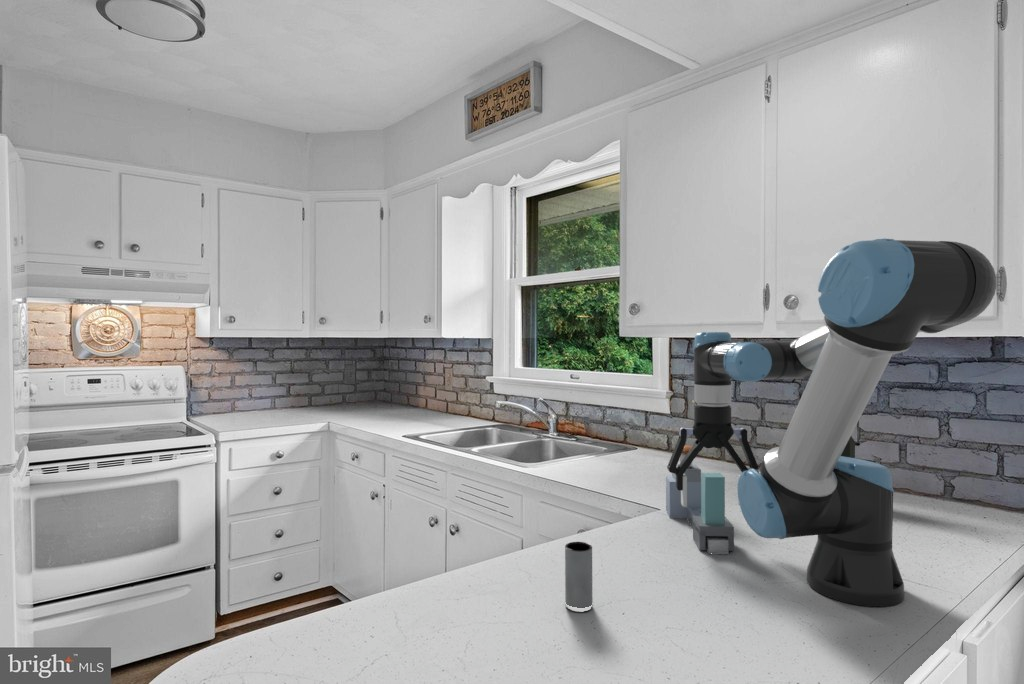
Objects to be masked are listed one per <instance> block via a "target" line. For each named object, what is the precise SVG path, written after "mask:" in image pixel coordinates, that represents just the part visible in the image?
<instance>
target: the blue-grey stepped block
mask: <svg viewBox="0 0 1024 684" xmlns="http://www.w3.org/2000/svg"><path fill="white" fill-rule="evenodd" d="M679 464H680V463H678V464H677V466H676V467H678V466H679ZM701 473H702V469H701V468H700V467H699V466H698V465H697V464H692V469H687V470H686V471H685V472H684V474H685V475H686V476H687V507H692V508H701ZM665 504H666V505H665V511H667V512H666V513H667V515H668V517H669V519H687V507H683V506H682V504H681V490H678V489H677V487H676V474H674V473H671V475H665Z"/></svg>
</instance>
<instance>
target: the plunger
mask: <svg viewBox="0 0 1024 684" xmlns="http://www.w3.org/2000/svg"><path fill="white" fill-rule="evenodd" d="M692 446H693V445H691V444H690V445H689V444H685V446H684V448H683V451H682V453H681V456H680V459H679V464H680V463H681V461H682V460H683V459H684V457H685V456H686V455H687V453H688V452H689V450H690V449H691V448H692ZM692 465H693V462H692V463H691V464H690V466H689V467H688V468H687V469H692Z"/></svg>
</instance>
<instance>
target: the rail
mask: <svg viewBox="0 0 1024 684" xmlns="http://www.w3.org/2000/svg"><path fill="white" fill-rule="evenodd" d="M693 516H701V508H692V507H687V518H686V519H688V520H687V522H688V521H689V522H688V523H689V525H690V524H691V525H690V526H692V527H691V528H692V529H693ZM706 550H707V551H706ZM705 551H706V552H708V553H709V554H708V553H707V554H708V555H718V554H729V552H730V551H729V548H728V539H727V538H726V536H705ZM711 553H712V554H711Z"/></svg>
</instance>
